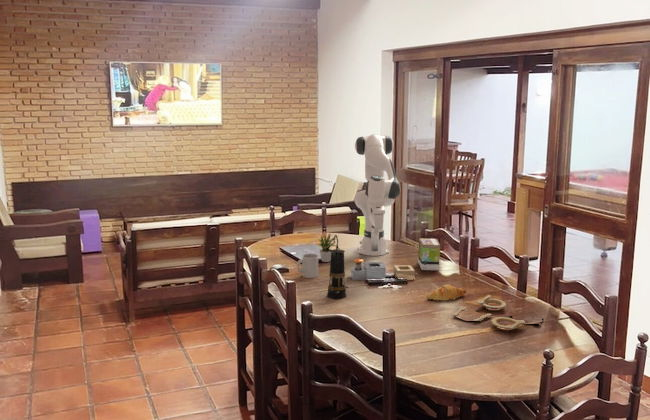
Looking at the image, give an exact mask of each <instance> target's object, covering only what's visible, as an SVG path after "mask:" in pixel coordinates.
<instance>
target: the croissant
mask: <svg viewBox="0 0 650 420" xmlns="http://www.w3.org/2000/svg"><path fill="white" fill-rule="evenodd" d="M466 293H467V289H464V288H461V287H457V286H454V285H453V284H449V283H447V284H442V285H441V286H440V287H437V288H436V289H435V290H433V291H430V292H429V293H427V294H426V296H425V297H426V299H428V300H431V299H433V300H432V301H439V300H449V299H454V298H457V297H459V298H461V297H463V296H465V294H466ZM460 296H461V297H460ZM457 299H458V298H457ZM454 300H455V299H454ZM449 301H450V300H449Z"/></svg>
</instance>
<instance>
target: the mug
mask: <svg viewBox="0 0 650 420" xmlns="http://www.w3.org/2000/svg"><path fill="white" fill-rule="evenodd" d="M300 264H302V266H301V269H300ZM296 270H297V272H298V273H301V274H302V275H301V276H302V277H303V278H307V279H315V278H318V277H319V255H318V254H316V253H315V254H314V253H305V254H303V255H302V257H301V259H299V260H298V261H297V263H296Z"/></svg>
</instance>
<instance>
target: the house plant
mask: <svg viewBox="0 0 650 420" xmlns="http://www.w3.org/2000/svg"><path fill="white" fill-rule="evenodd" d="M323 235H324V237H323V236H322V235H321V234H319V237H320V238H318V237H317V239H318V241H319V242H320V243H316V244H315V246H316V245H317V246H321V249H319V253H320V260H322V261H321V262H323V263H328V262H331V252H330V251H331V250H332V249H331V247H335V248H336V244H334V237H332V238H331V236H332V234H330V232H329V234H328V235H326V233H324V234H323Z"/></svg>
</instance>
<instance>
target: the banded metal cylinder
mask: <svg viewBox="0 0 650 420" xmlns="http://www.w3.org/2000/svg"><path fill="white" fill-rule="evenodd" d="M374 231H375V228H374V226H373V225H371V251H378V249H379V230H378V235H375V234H374Z"/></svg>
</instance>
